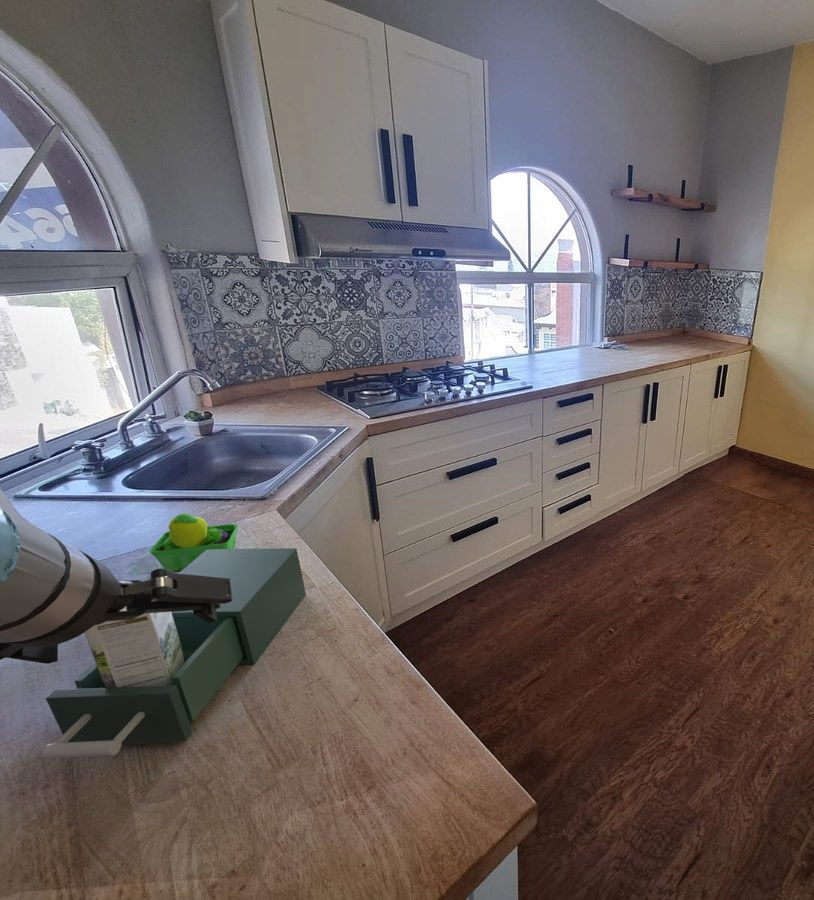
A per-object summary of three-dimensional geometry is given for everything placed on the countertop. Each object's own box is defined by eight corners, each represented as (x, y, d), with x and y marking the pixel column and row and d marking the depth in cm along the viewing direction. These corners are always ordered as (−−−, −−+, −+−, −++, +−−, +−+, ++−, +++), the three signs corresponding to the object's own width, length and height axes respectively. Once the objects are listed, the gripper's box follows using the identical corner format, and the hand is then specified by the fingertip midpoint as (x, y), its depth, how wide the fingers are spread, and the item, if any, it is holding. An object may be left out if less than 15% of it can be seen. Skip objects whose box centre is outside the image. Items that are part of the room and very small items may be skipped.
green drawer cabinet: (254, 664, 69) (240, 611, 66) (149, 668, 68) (129, 614, 65) (306, 594, 84) (296, 548, 81) (220, 596, 83) (206, 549, 79)
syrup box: (134, 690, 62) (96, 594, 57) (193, 674, 65) (162, 581, 60) (119, 726, 58) (76, 625, 52) (183, 707, 60) (148, 609, 55)
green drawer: (154, 783, 53) (133, 733, 50) (25, 790, 52) (-3, 739, 49) (256, 649, 71) (245, 607, 68) (162, 652, 70) (147, 610, 67)
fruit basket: (244, 545, 97) (231, 493, 93) (230, 570, 89) (216, 515, 85) (173, 554, 93) (156, 500, 89) (152, 582, 86) (132, 524, 82)
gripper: (225, 512, 46) (265, 567, 63) (-225, 589, 34) (-24, 631, 51) (233, 592, 43) (272, 626, 61) (-249, 705, 31) (-29, 708, 49)
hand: (137, 628), depth 56 cm, fingers open, 13 cm apart
